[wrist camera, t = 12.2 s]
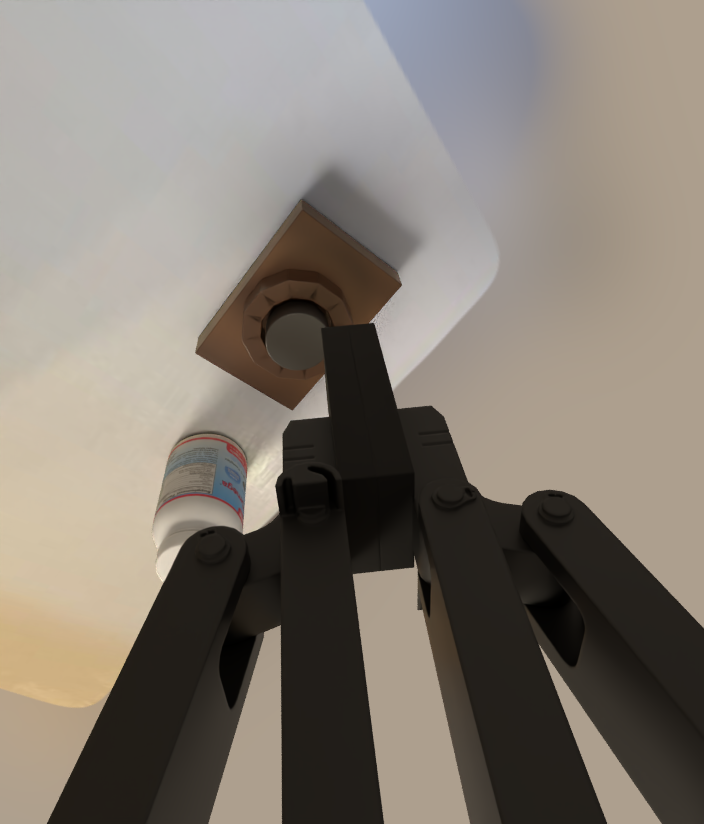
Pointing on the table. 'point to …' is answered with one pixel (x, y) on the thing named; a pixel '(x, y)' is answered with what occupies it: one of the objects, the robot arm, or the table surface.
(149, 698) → the robot arm
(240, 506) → the pill bottle
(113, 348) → the table surface
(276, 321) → the bell button
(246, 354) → the block
